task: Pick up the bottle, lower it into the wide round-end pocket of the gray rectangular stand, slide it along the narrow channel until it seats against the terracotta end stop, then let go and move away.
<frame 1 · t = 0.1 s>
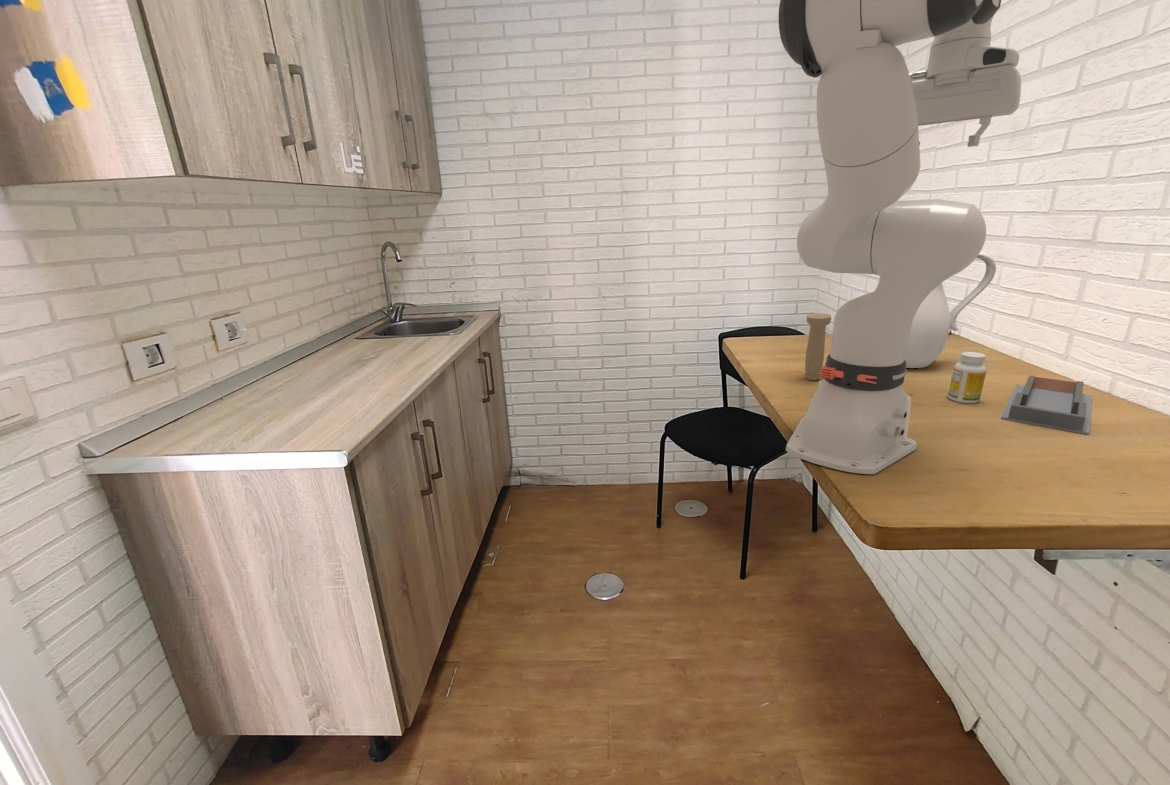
hand: (942, 149, 97), 48 cm above the table, fingers open, 8 cm apart
supplement bottle: (963, 400, 107), on the table
gray rectangular stand: (1048, 407, 101), on the table
handle: (812, 379, 123), on the table
pitcher: (917, 364, 131), on the table
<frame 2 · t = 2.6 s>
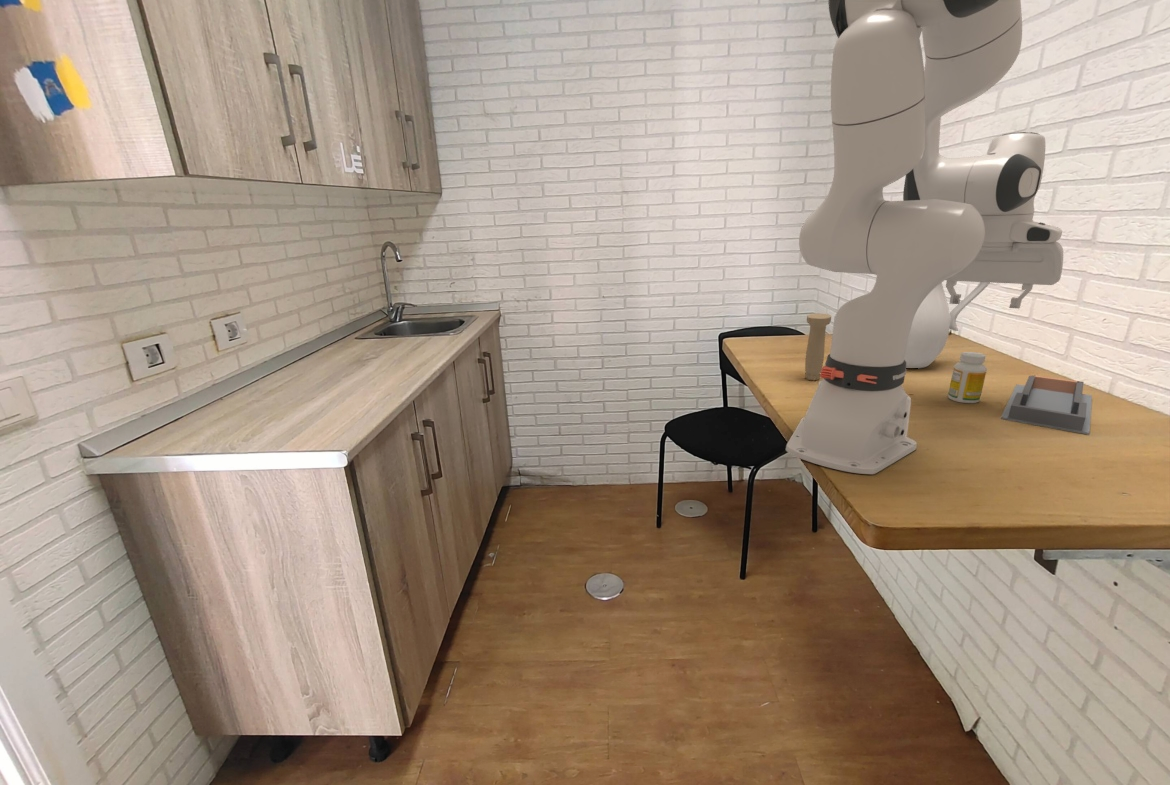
hand: (983, 305, 100), 19 cm above the table, fingers open, 8 cm apart
nothing on the table moved.
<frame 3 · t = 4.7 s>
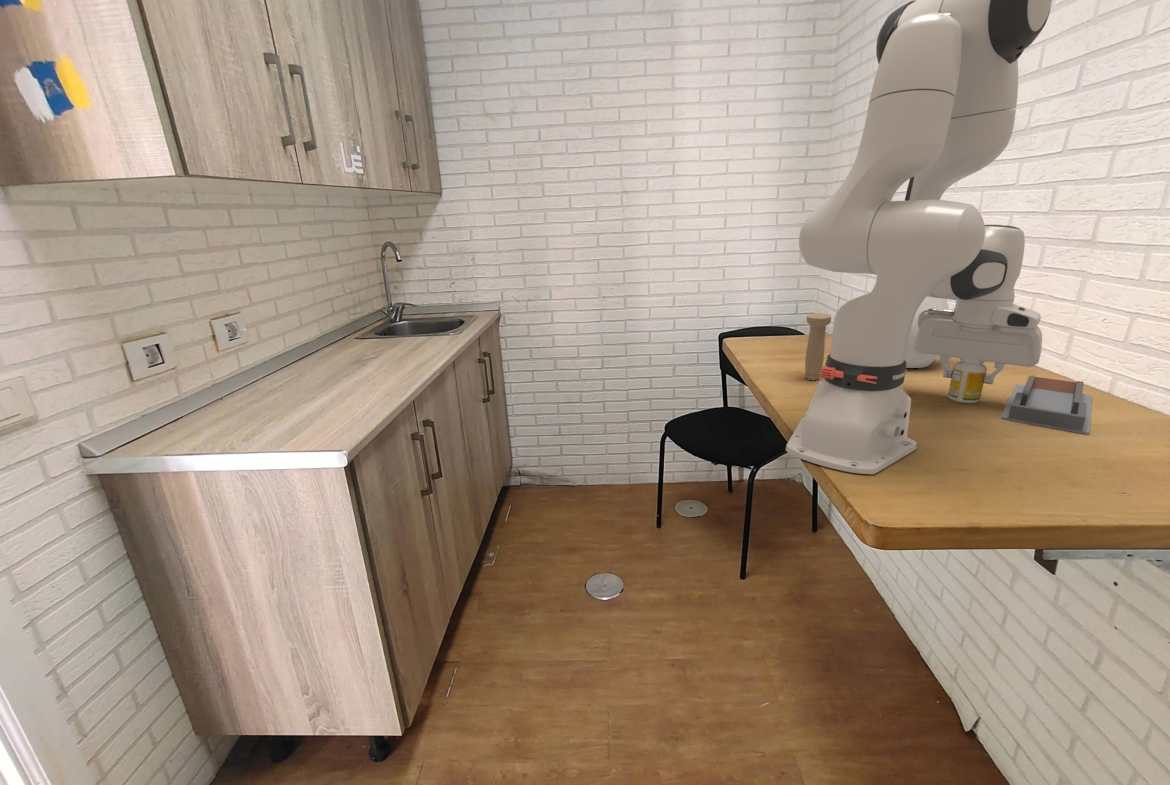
hand: (967, 380, 105), 4 cm above the table, fingers closed on supplement bottle, 5 cm apart
supplement bottle: (963, 400, 107), on the table, touching gripper
everything else where it was.
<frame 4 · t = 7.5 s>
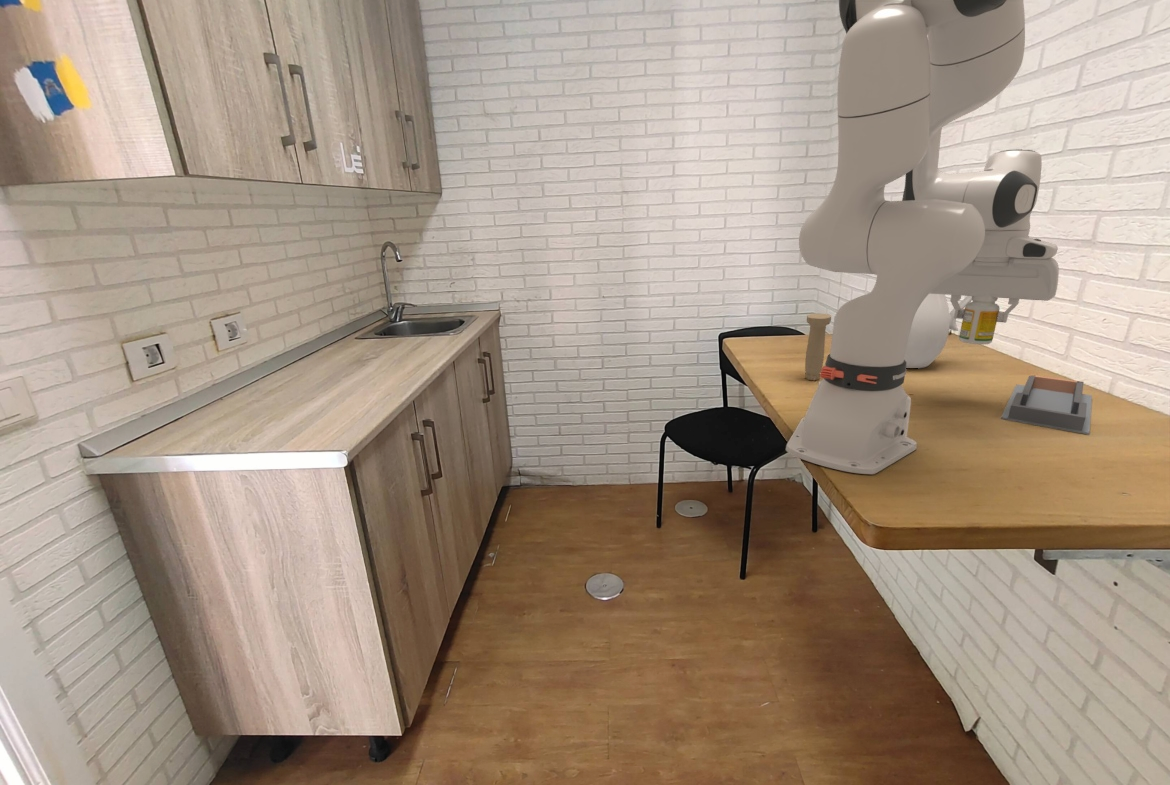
hand: (979, 320, 101), 16 cm above the table, fingers closed on supplement bottle, 5 cm apart
supplement bottle: (974, 342, 103), point 12 cm above the table, touching gripper
everything else where it was.
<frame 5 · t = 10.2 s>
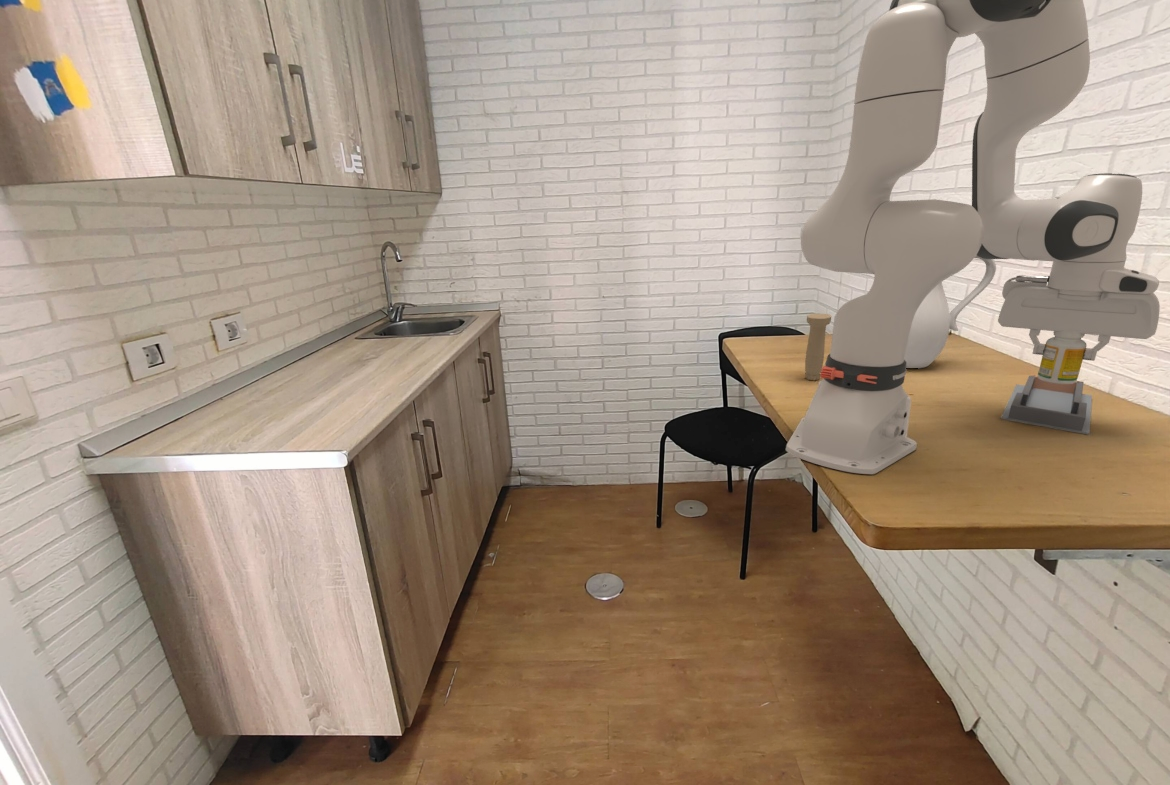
hand: (1062, 356, 92), 12 cm above the table, fingers closed on supplement bottle, 5 cm apart
supplement bottle: (1056, 381, 94), point 7 cm above the table, touching gripper
everything else where it was.
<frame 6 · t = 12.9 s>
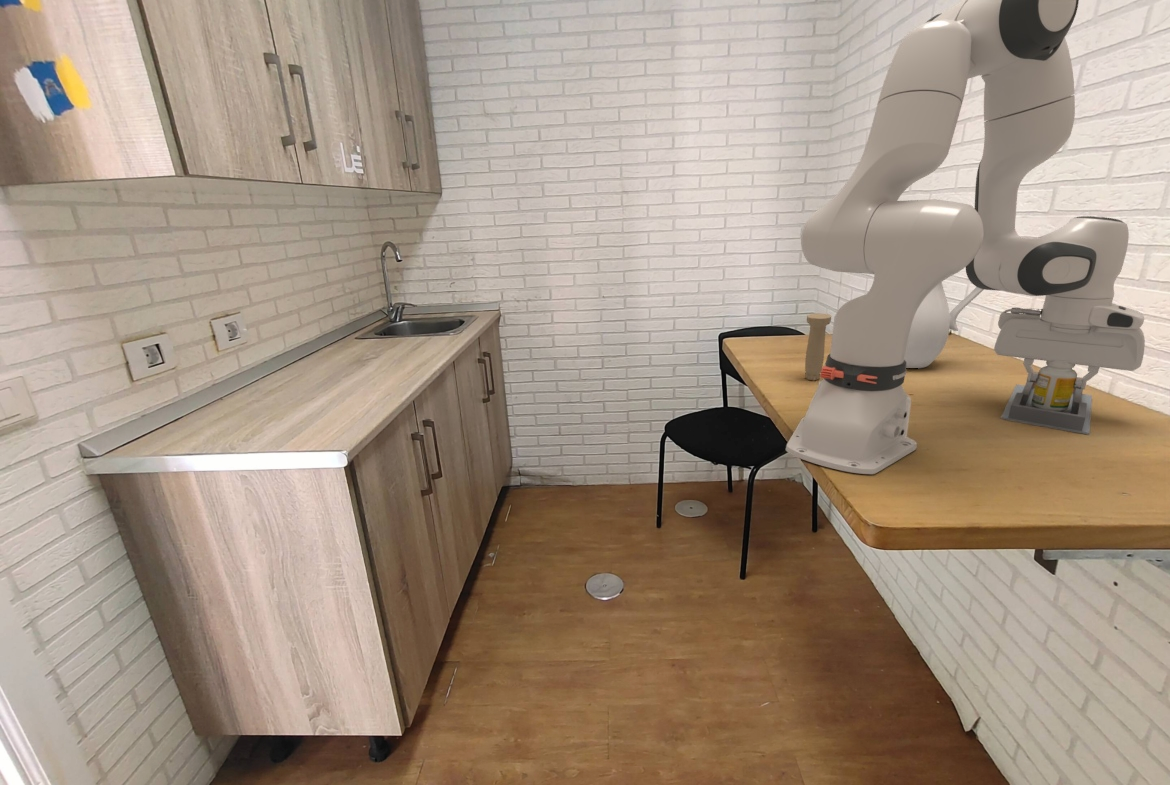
hand: (1054, 384, 98), 5 cm above the table, fingers closed on supplement bottle, 5 cm apart
supplement bottle: (1048, 407, 99), point 1 cm above the table, touching gripper
everything else where it was.
when the fingers open (5 cm above the table, at t = 15.6 s): supplement bottle stays where it is, resting on gray rectangular stand.
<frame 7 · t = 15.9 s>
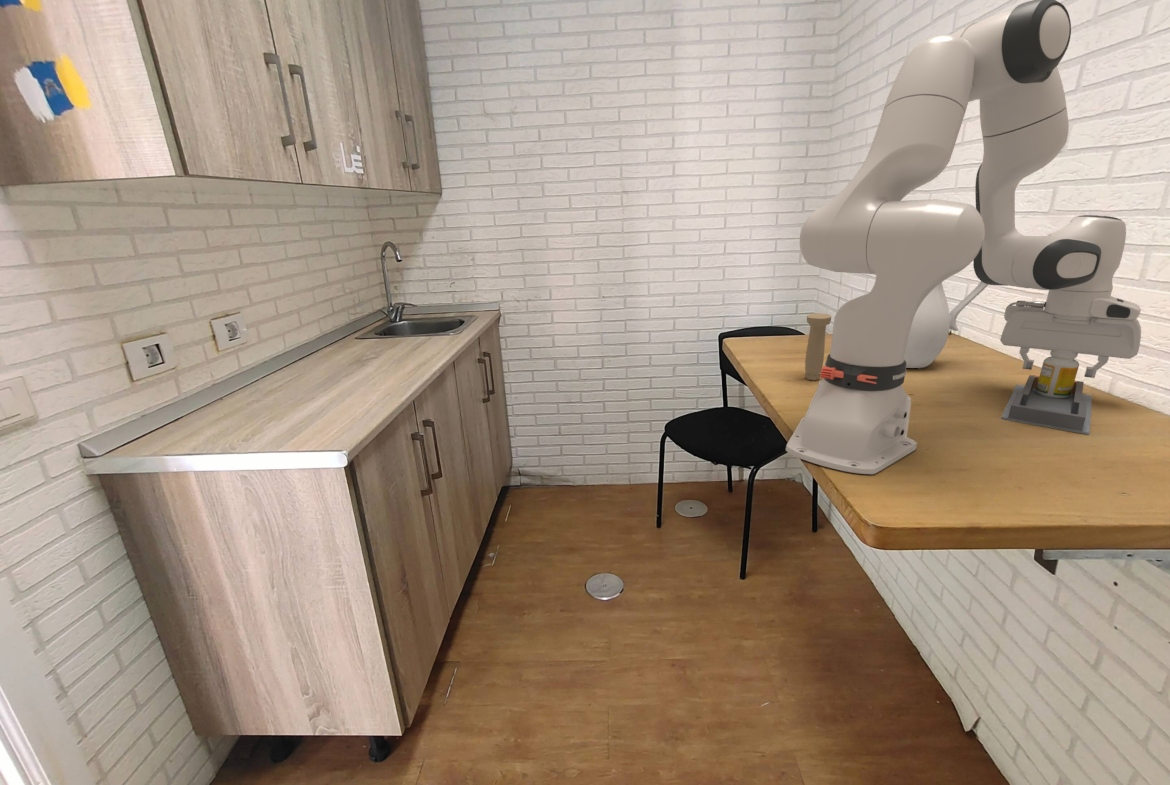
hand: (1057, 372, 105), 5 cm above the table, fingers open, 8 cm apart
supplement bottle: (1052, 395, 106), resting on gray rectangular stand
everything else where it was.
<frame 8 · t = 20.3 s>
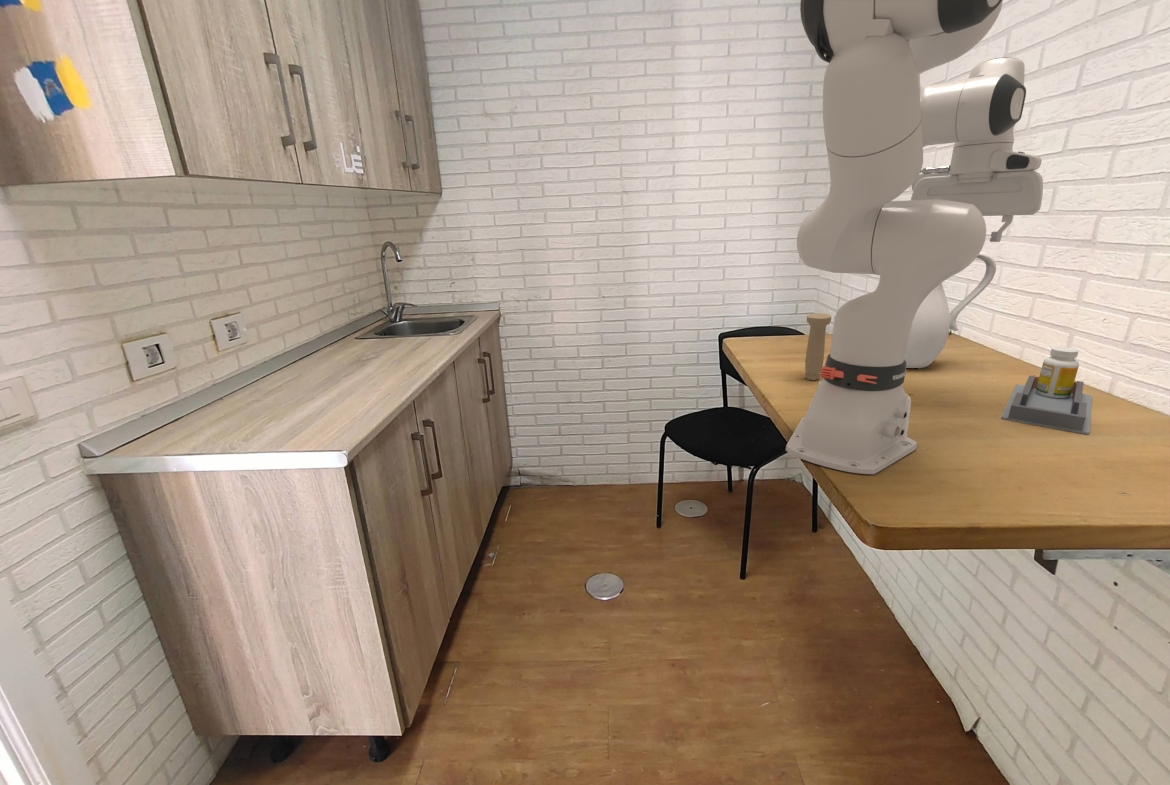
hand: (964, 241, 100), 31 cm above the table, fingers open, 8 cm apart
nothing on the table moved.
at the end: supplement bottle 0.3 cm from the target spot on the gray rectangular stand, point 0.2 cm above the gray rectangular stand's base; supplement bottle tilted 0°; the gripper is holding nothing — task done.
